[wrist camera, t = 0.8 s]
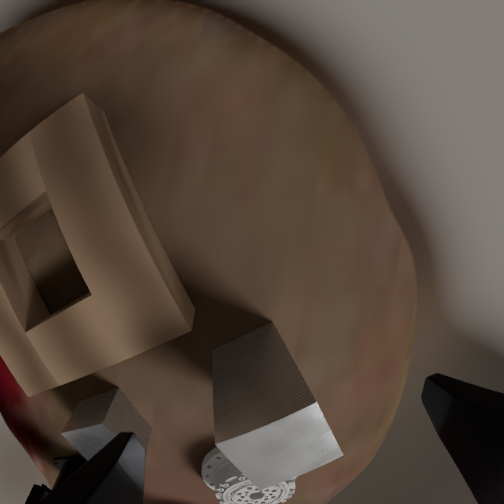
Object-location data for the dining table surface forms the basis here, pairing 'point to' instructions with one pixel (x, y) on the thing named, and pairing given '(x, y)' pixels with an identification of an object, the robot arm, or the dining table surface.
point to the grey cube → (104, 422)
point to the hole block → (82, 255)
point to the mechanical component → (239, 483)
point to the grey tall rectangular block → (267, 411)
